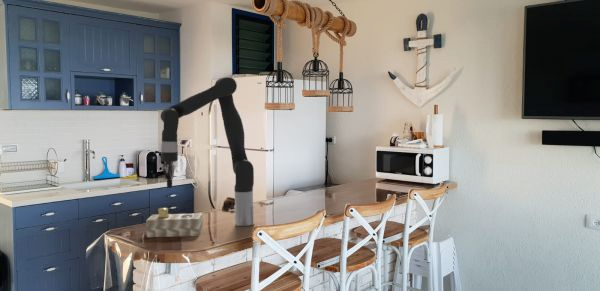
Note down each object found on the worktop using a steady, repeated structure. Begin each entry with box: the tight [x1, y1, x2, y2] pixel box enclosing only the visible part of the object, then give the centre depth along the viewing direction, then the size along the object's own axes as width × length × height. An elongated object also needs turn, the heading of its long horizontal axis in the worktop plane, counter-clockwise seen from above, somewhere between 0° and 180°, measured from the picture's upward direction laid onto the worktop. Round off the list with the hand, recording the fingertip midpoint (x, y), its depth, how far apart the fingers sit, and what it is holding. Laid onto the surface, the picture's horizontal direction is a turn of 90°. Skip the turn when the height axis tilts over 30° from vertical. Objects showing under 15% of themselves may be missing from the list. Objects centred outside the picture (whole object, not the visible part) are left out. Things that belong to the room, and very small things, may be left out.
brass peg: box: [157, 207, 169, 218], centre depth 227 cm, size 4×4×7 cm
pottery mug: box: [221, 197, 235, 212], centre depth 281 cm, size 12×10×8 cm
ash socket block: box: [145, 212, 204, 238], centre depth 228 cm, size 24×12×8 cm, turn 93°
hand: (169, 187), depth 226 cm, fingers closed
